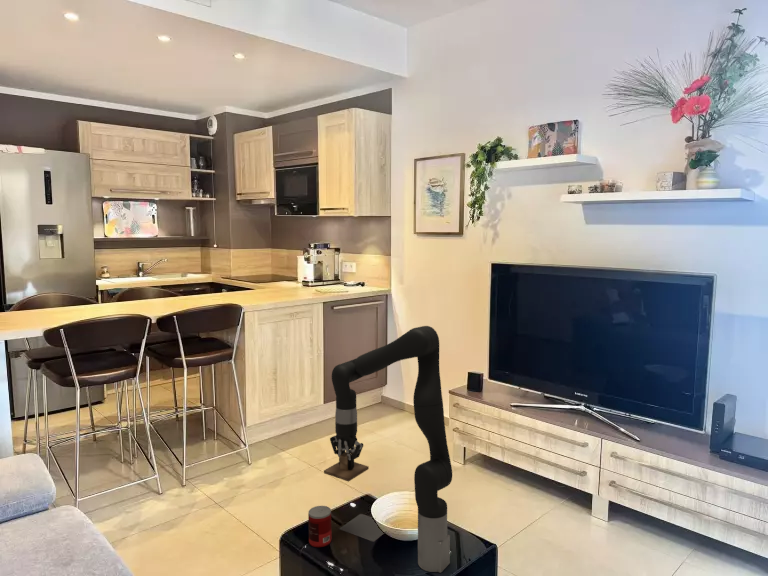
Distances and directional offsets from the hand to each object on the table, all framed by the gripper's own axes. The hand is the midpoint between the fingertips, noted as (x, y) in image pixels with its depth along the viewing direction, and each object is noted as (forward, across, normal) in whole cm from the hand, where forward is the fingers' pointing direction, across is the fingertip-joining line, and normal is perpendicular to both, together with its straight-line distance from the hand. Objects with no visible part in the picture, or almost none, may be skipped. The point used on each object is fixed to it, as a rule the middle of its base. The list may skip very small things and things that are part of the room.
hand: (346, 467), depth 186 cm
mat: (+24, -4, -6) cm, 25 cm away
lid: (+1, 0, 0) cm, 1 cm away
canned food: (+24, +4, +10) cm, 26 cm away
